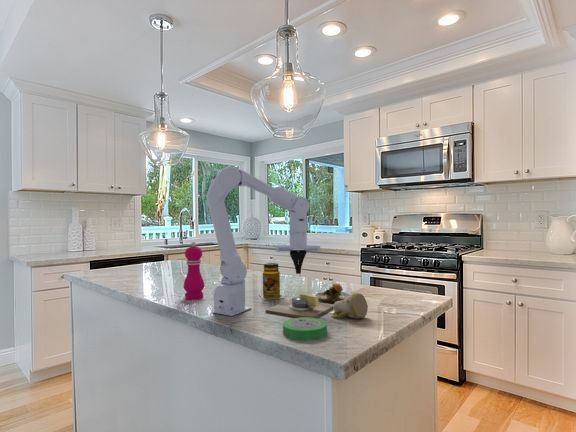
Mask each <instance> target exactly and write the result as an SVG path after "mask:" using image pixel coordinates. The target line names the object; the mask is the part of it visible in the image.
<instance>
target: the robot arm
mask: <svg viewBox="0 0 576 432" xmlns="http://www.w3.org/2000/svg"><path fill="white" fill-rule="evenodd" d="M209 184H210V185H209V187H208V190H207V193H206V197H205V198H206V202H207V206H208V209H209V214H210V217H211V222H212V226H213V229H214V233H215V237H216V240H217V245H218V249H219V253H220V254H219V259H220V266H219V271H220V274H221V276H223V277H222V278H221V282H220V284H219V285H218V286H216V287H215V289H214V292H213V301H214V302H213V310H211V312H212V313H214V314H218V315H225V316H230V317H234V316H236V315H238V314H241V313H244V312H246V311H249V310H251V309H252V307H251V306H246V280H245V278H246V277H247V273H248V271H247V266H246V265H245V264H244V263H243V262H242V259H241V256H240V254H239V252H238V250H237V247H236V243H235V242H236V241H235V239H234V235H233V231H232V227H231V223H230V219H229V215H228V211H227V207H226V204H225V199H226V198H227V196H228V194H229V193H230V192H231V191H232V190H233V189H235V188H237V187H246V188H247V187H248V188H249V189H252V190H253V191H256V192H258V193H260V194H263V195H265V196H267V197H268V199H269V201H270V202H271V203H273V204H275V205H277V206H280V207H281V208H283V209H286V210H287V212H288V214H289V221H288V222H289V244H288V245H287V244H284V245H281V244H280V245H276V246H275V247H276V249H275V250H276V251H275V252H277V253H280V252H289V256H290V258H291V260H292V262H293V265H294V268H295V274H296V275H300V274H301V273H302V266H303V263H304V260H305V257H306V255H307V252H311V253H312V252H315V253H321V245H312V244H311V245H309V244H308V242H307V239H308V237H307V236H308V229H307V228H308V227H307V226H308V225H307V221H308V220H307V218H308V216H307V214H308V211H309V210H310V208H311V204H310V203H309V200H308V199H307V198H306V197H304V196H303V195H302V196H301V195H299V196H298V195H297V193H296V192H292V191H290V190H288V189H286V188H285V186H284V185H282V184H281V185H275V186H272V185H270V184H268V183H266V182H264V181H263V180H261V179H259V178H257V177H256V176H254V175H252V174H251V173H248V172H247V171H245V170H243V169H240V168H239V169H238V168H237V167H235V166H231V165H228V166H225V167H224V168H221V169H219V170H218V171H216V172H215V174H214V175H213V176H212V177H211V180H210V183H209Z"/></svg>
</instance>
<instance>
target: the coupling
mask: <svg viewBox="0 0 576 432" xmlns="http://www.w3.org/2000/svg"><path fill="white" fill-rule="evenodd" d="M291 299H292V306H293V307H299V308H304V307H310V306H312V307H318V302H319V298H318V296H316V295H312V294H307V293H299V296H294V297H291Z"/></svg>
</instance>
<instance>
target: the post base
mask: <svg viewBox="0 0 576 432" xmlns="http://www.w3.org/2000/svg"><path fill="white" fill-rule="evenodd" d="M333 305H334V303H333V304H328V303H326V302H319V301H318V307H312V306H310V307H304V308H299V307H293V306H292V298H291V299H289V300H287V301H286V300H285V301H284V302H281V303H279V304H277V305H274V306H272V307H269V308H268V309H265V313H267V314H273V315H278V316H283V317H291V318H300V317H311V318H318V319H319V318H320V317H321V316H323V315H324V314H326V313H328V312H331V311H333V310H334V309H333Z"/></svg>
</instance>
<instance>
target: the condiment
mask: <svg viewBox="0 0 576 432" xmlns="http://www.w3.org/2000/svg"><path fill="white" fill-rule="evenodd" d="M279 269H280V268H279V264H278V263H277V262H269V263H268V262H267V263H263V272H262V294H259V296H260V297H261V299H262V300H264V301H267V300H278V299H285V297H283V296H282V294H281V277H280V274H281V273H280V272H281V271H279Z"/></svg>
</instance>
